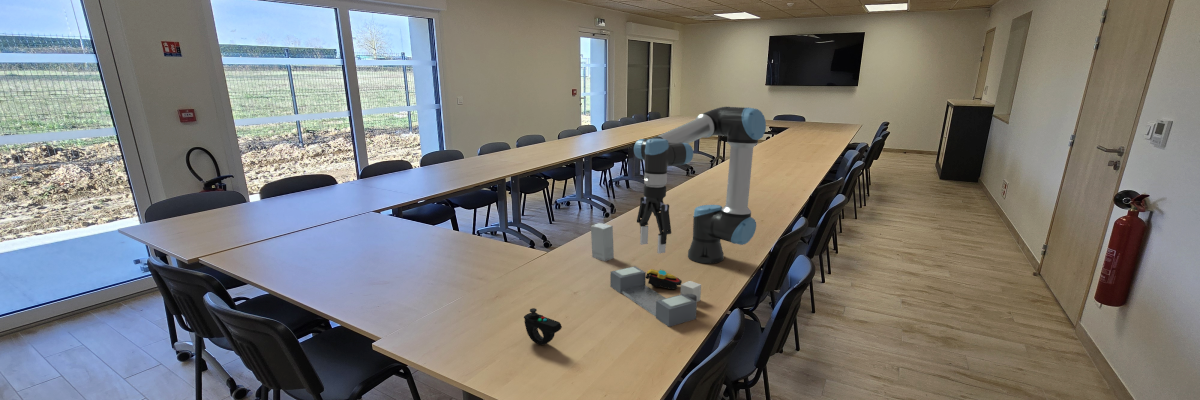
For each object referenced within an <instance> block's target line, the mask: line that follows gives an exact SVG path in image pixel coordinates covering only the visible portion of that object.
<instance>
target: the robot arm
mask: <svg viewBox="0 0 1200 400" xmlns="http://www.w3.org/2000/svg"><path fill="white" fill-rule="evenodd" d="M766 128H767V122H766V118H765V115H764V114H763V112H762V111H761V110H760V109H758V108H754V107H753V108H752V107H742V106H741V107H738V106H737V107H736V106H721V107H717V108H714V109H711V110H709V111H705V112H703V113H701V114H698V115H697V116H696V117H695V119H694V120H692V121H689V122H687V123H685V124H682V125H680V126H677V127H675V128H673V129H670V130H668V131H666V132H663V133H661V134H659V135H657V136H654V137H652V138H649V139H647V138H639V139H638V140H636V141H635V144H634V146H633V153H634V155H635V158H637V159H639V160H643V161H644V176H643V178H644V182H643V183H644V186H643V197H642V196H641V197H640V198H639V199H640V205H639V209H638V213H637V218H636V223H637V224H639V228H640V232H639V233H640V235H639V236H640V239H639V240H640V241H639V245H647V244H648V243H649V220H650V218H651V216H652V214H653V216H654V217H655V220H656V223H657V228H658V232H659V233H658V235H657V254H658V255H659V254H664V253H666V245H667V240H668V239H667V237H668V235H671V234H672V227H671V218H670V205H669V203H667V204H666V203H664V199H665V197H666V196H667V186H666V185H667V183H668V182H667V181H668V167H672V166H674V167H675V166H683V165H687V164H689V163H691V162H692V160H693V159H694V158H693V157H694V149H693V148H692V146H691V143H693V142H695V141H698V140H699V139H702V138H710V137H712V136H713V137H714V136H719V137H720V136H721V137H727V140H726V142H727V144H729V146H730V149H729V150H730V151H729V162H728V175H727V184H726V185H727V187H726V197H725V198H726V200H725V205H724V206H722V205H719V204H705V205H704V204H703V205H698V206H696V207H695V208H694V211H693V220H692V222H693V226H692V240H691V244H690V247H689V249H688V251H687V258H688V259H689V260H690V261H693V262H696V263H699V264H718V263H721V262H722V261H723V260H724V258H725V257H724V251H723V247H722V243H721V240H722V241H725V242H727V243H728V242H729V243H731V244H734V245H740V246H742V245H746V244H747V243H749V242H750V241H751V240H752V239H753V237H754V235H755V232H756V230H757V222H756V219H755V218H753V217H752V210H751V209H750V208H749V198H750V197H749V196H750V188H751V187H750V186H751V174H752V166H753V155H754V148H755V147H756V146H757V145H758V143H759V140H761V139H762V138H763V137H764V135H765V133H766Z"/></svg>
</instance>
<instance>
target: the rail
mask: <svg viewBox="0 0 1200 400" xmlns="http://www.w3.org/2000/svg"><path fill="white" fill-rule="evenodd" d="M620 294H621V295H624V296H625V297H626V298H628V299H629V300H631V301H632V302H634V303H635V304H637V306H639V307H641V308H642V309H644V310H645V311H647V312H648V313H650V314H651V315H652V316H654V317H655V318H656V301H658V300H662V299H666V296H664V295H662V294H660V293H659V292H657V291H655V290H654V289H652V288H651V287H649V286H647V285H646V284H645V285H640V286H636V287H632V288H628V289H624V290H621V293H620Z"/></svg>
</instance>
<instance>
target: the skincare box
mask: <svg viewBox="0 0 1200 400" xmlns="http://www.w3.org/2000/svg"><path fill="white" fill-rule="evenodd" d="M613 231H614V230H613V225H609V224H607V223H602V222H598V223H596V224H592V225H591V226H590V235H591V236H590V237H591V238H590V239H591V256H592V257H591V258H593V259H597V260H600V261H601V262H602V261H603V262H607V261H610V260H613V259H614V257H615V253H614V252H615V251H614V232H613Z"/></svg>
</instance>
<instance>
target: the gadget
mask: <svg viewBox="0 0 1200 400" xmlns="http://www.w3.org/2000/svg"><path fill="white" fill-rule="evenodd" d="M645 280H648V282H647V283H648V285H649V284H650V285H651V286H653V287H656V288H657V287H658V288H660V287H661V288H665V289H669V290H675V289H676V290H677V287H678V286H681V284H683V283H682V282H683V281H682V279H681V278H678V277H676V276H675V275H674V274H672V273H668V272H667V271H666V270H664V269H659V270H657V269H655V268H654V269H653V268H651V269H649V270H647V272H646V278H645Z"/></svg>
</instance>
